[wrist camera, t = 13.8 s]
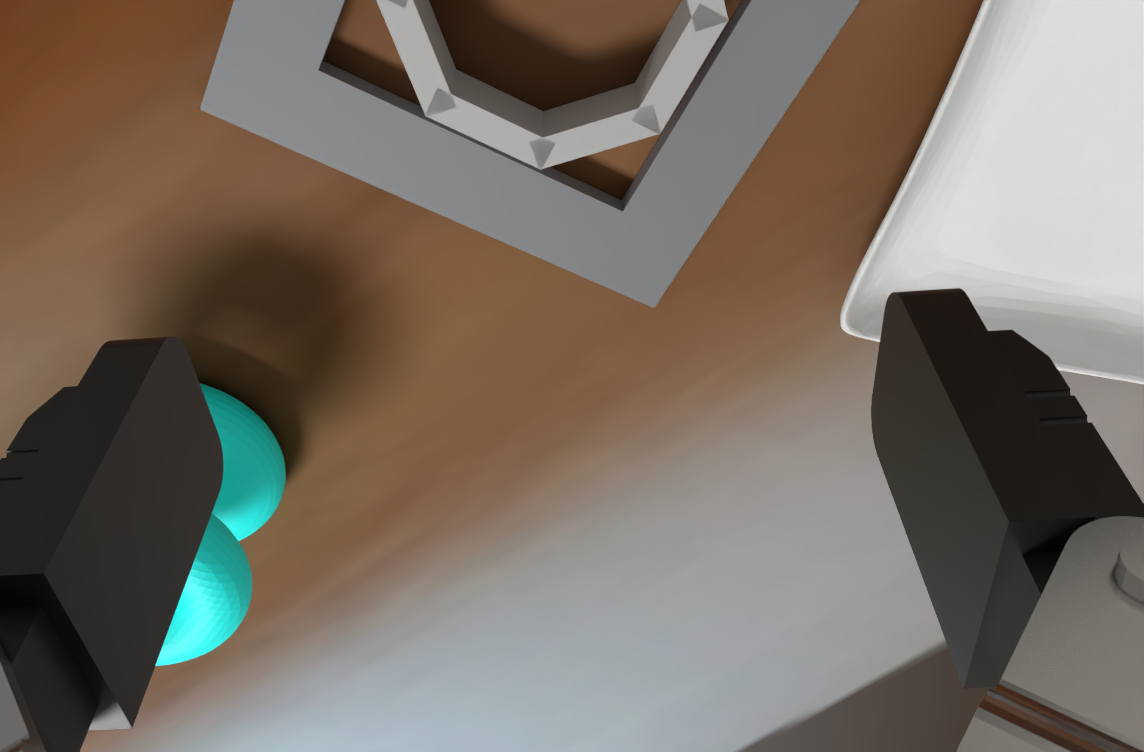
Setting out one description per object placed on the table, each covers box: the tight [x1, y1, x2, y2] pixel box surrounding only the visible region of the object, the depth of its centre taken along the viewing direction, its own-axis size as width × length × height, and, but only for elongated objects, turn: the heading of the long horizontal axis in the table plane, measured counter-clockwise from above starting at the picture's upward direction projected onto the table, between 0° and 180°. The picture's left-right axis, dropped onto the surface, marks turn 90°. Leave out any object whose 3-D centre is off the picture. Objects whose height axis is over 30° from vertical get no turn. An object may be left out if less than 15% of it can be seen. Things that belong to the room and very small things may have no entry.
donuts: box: [155, 384, 286, 666], centre depth 47 cm, size 10×10×10 cm
